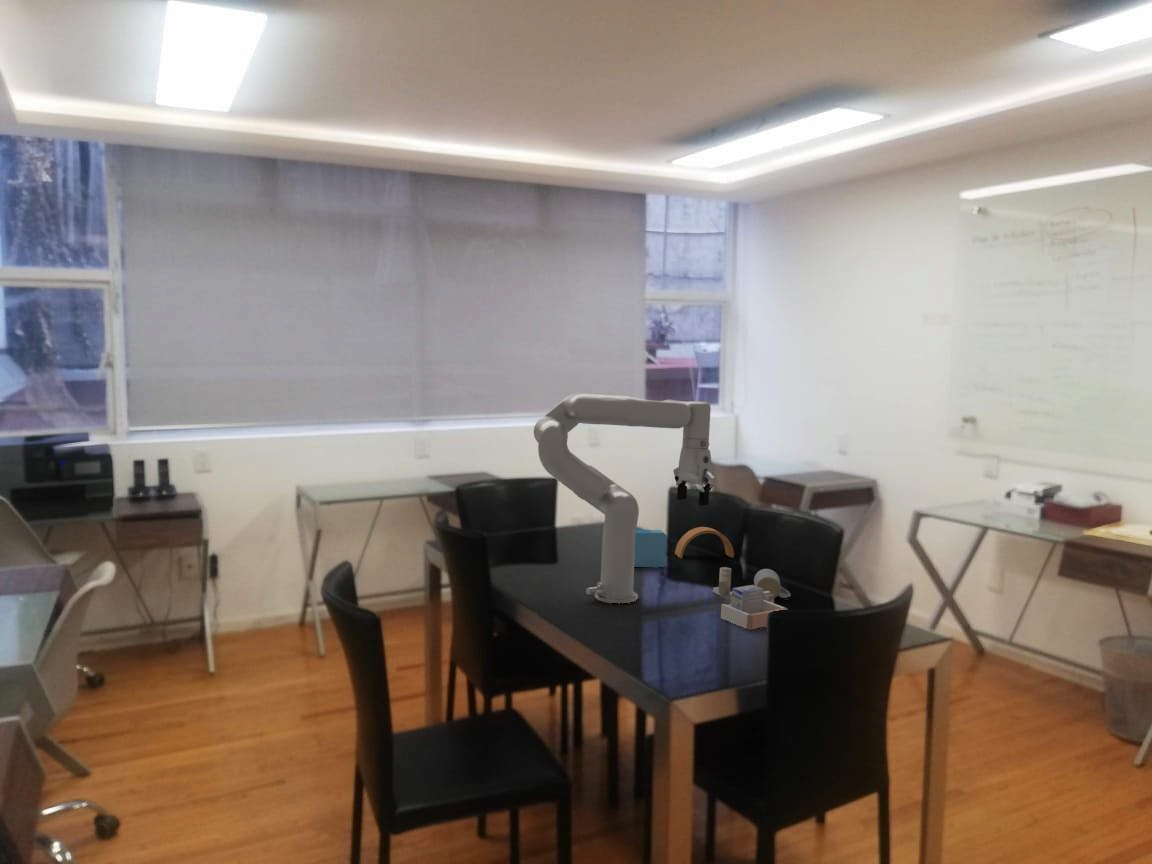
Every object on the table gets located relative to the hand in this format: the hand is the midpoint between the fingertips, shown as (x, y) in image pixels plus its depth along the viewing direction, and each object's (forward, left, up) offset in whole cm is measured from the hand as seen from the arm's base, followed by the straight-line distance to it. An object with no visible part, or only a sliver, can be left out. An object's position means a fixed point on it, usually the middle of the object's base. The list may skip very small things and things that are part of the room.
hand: (692, 502), depth 255 cm
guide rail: (+11, -10, -28) cm, 32 cm away
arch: (+38, +36, -29) cm, 60 cm away
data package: (+10, +33, -29) cm, 45 cm away
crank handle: (+5, -17, -28) cm, 33 cm away
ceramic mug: (+23, -11, -29) cm, 39 cm away
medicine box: (+1, -23, -29) cm, 37 cm away
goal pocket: (+2, -25, -28) cm, 38 cm away
